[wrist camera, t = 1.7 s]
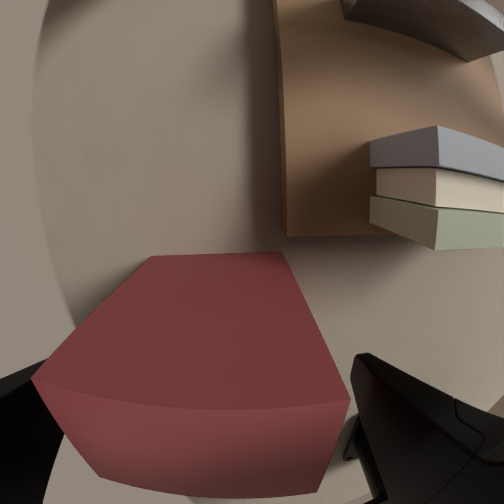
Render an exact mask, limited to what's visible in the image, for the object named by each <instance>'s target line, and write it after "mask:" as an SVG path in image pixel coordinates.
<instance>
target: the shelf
mask: <svg viewBox="0 0 504 504" xmlns="http://www.w3.org/2000/svg"><path fill="white" fill-rule="evenodd" d="M272 5H273V17H274V30H275V44H276V59H277V76H278V96H279V119H280V148H281V193H282V231H283V232H284V234H285V235H286V237H319V236H376V235H399V234H396V233H394V232H391V231H389V230H387V229H384V228H382V227H379V226H377V225H374V224H372V223H369V217H370V196H378V195H376V191H377V169H384V168H376V167H370V142H369V141H371V140H375V139H378V138H382V137H386V136H391V135H395V134H399V133H403V132H408V131H412V130H417V129H421V128H426V127H431V126H436V125H438V126H442V127H445V128H449V129H452V130H455V131H458V132H462V133H465V134H468V135H471V136H473V137H476V138H479V139H482V140H485V141H487V142H490V143H492V144H495V145H497V146H500V147H502V148H504V116H503V110H502V104H501V98H500V93H499V88H498V84H497V80H496V76H495V72H494V68H493V64H492V61H491V57H490V55H488V56H485V57H483V58H480V59H477V60H474V61H472V62H469V63H468V62H466V61H464V60H462V59H460V58H458V57H456V56H454V55H452V54H449V53H447V52H445V51H443V50H441V49H438V48H436V47H434V46H431V45H429V44H426V43H424V42H421V41H419V40H416V39H413V38H410V37H407V36H405V35H402V34H398V33H395V32H392V31H389V30H385V29H382V28H378V27H375V26H371V25H367V24H363V23H358V22H354V21H349V20H344V17H343V12H342V7H341V3H340V0H272ZM379 197H384V196H379Z"/></svg>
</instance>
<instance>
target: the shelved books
mask: <svg viewBox="0 0 504 504" xmlns="http://www.w3.org/2000/svg"><path fill="white" fill-rule="evenodd" d="M369 142H370V167H376V168H384V169H377V191H376V195H378V196H370V217H369V223H372V224H374V225H377V226H379V227H382V228H384V229H387V230H389V231H391V232H394V233H396V234H399V235H401V236H403V237H406V238H408V239H410V240H413V241H415V242H417V243H420V244H422V245H424V246H426V247H428V248H431V249H433V250H454V249H476V248H497V247H504V148H502V147H500V146H497V145H495V144H492V143H490V142H487V141H485V140H482V139H479V138H476V137H473V136H471V135H468V134H465V133H462V132H458V131H455V130H452V129H449V128H445V127H442V126H438V125H436V126H431V127H426V128H421V129H417V130H412V131H408V132H403V133H399V134H395V135H391V136H386V137H382V138H378V139H375V140H371V141H369ZM379 196H384V197H379Z"/></svg>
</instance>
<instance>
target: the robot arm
mask: <svg viewBox="0 0 504 504" xmlns="http://www.w3.org/2000/svg"><path fill="white" fill-rule="evenodd" d="M47 359H48V358H47ZM47 359H45V360H43V361H41V362H38V363H36V364H34V365H31V366H29V367H27V368H24V369H22V370H20V371H18V372H15V373H13V374H11V375H8V376H6V377H4V378H1V379H0V504H43V499H44V495H45V492H46V488H47V485H48V481H49V478H50V475H51V471H52V468H53V465H54V462H55V459H56V456H57V453H58V450H59V447H60V444H61V442H62V439H63V436H64V432H63V431H62V429H61V428H60V426H59V425H58V423H57V422H56V420H55V419H54V417H53V416H52V414H51V413H50V411H49V409H48V408H47V406H46V405H45V403H44V401H43V400H42V398H41V396H40V394H39V393H38V391H37V389H36V387H35V385H34V383H33V381H32V380H31V377H32V376H33V375H34V374H35V372H36V371H37V370H38V369H39V368H40V367H41V366H42V364H43V363H44V362H45V361H46V360H47ZM350 380H351V385H352V388H353V392H354V396H355V400H356V404H357V408H358V412H359V417H358V418H357V421H356V424H355V426H354V429H353V432H352V434H351V437H350V439H349V442H348V444H347V447H346V449H345V452H344V454H343V460H344V461H349V460H354V459H358V458H359V460H360V463H361V466H362V469H363V471H364V474H365V477H366V480H367V483H368V485H369V488H370V491H371V494H372V497H373V499H372V500H370V501H368V502H366V503H364V504H504V418H502V417H499V416H496V415H493V414H490V413H488V412H485V411H482V410H480V409H477V408H475V407H473V406H471V405H468V404H466V403H464V402H462V401H460V400H458V399H456V398H453V397H452V396H450V395H448V394H446V393H444V392H442V391H440V390H438V389H436V388H434V387H432V386H430V385H428V384H426V383H424V382H422V381H420V380H419V379H417V378H415V377H413V376H411V375H409V374H407V373H405V372H403V371H401V370H400V369H398V368H396V367H394V366H392V365H390V364H388V363H387V362H385V361H383V360H381V359H379V358H377V357H375V356H374V355H372V354H370V353H361V354H357V355H356V356H355V357H354V361H353V366H352V370H351V375H350Z"/></svg>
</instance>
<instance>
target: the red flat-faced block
mask: <svg viewBox="0 0 504 504" xmlns="http://www.w3.org/2000/svg"><path fill="white" fill-rule="evenodd" d="M31 380H32V381H33V383H34V385H35V387H36V389H37V391H38V393H39V394H40V396H41V398H42V400H43V401H44V403H45V405H46V406H47V408H48V409H49V411H50V413H51V414H52V416H53V417H54V419H55V420H56V422H57V423H58V425H59V426H60V428H61V429H62V431H63V432H64V434H65V435H66V436H67V438H68V439H69V440H70V442H71V443H72V445H73V446H74V447H75V448H76V450H77V451H78V452H79V453H80V455H81V456H82V457H83V458H84V460H85V461H86V462H87V463H88V464H89V466H90V467H91V468H92V469H93V470H94V471H95V472H96V473H97V475H98V476H99V477H101V478H105V479H108V480H111V481H115V482H119V483H122V484H126V485H130V486H134V487H139V488H143V489H148V490H153V491H159V492H164V493H171V494H178V495H186V496H196V497H208V498H232V499H248V498H271V497H284V496H293V495H301V494H309V493H315V492H317V491H318V488H319V486H320V484H321V482H322V479H323V477H324V475H325V472H326V470H327V467H328V465H329V462H330V460H331V457H332V454H333V452H334V449H335V446H336V443H337V441H338V438H339V435H340V432H341V429H342V426H343V423H344V420H345V416H346V413H347V410H348V407H349V403H350V400H351V399H350V396H349V394H348V392H347V390H346V387H345V385H344V383H343V381H342V378H341V376H340V374H339V372H338V369H337V367H336V365H335V363H334V361H333V358H332V356H331V354H330V352H329V350H328V347H327V345H326V343H325V341H324V339H323V337H322V334H321V332H320V330H319V328H318V326H317V324H316V322H315V320H314V317H313V315H312V313H311V311H310V309H309V307H308V305H307V303H306V301H305V298H304V296H303V294H302V292H301V290H300V288H299V286H298V284H297V282H296V280H295V278H294V276H293V274H292V272H291V270H290V268H289V266H288V263H287V261H286V259H285V257H284V255H283V253H282V252H261V253H229V254H198V255H166V256H152V257H151V258H150V259H149V260H147V261H146V262H145V263H144V264H143V265H142V266H141V267H140V268H139V269H137V270H136V271H135V272H134V273H133V274H132V275H131V276H130V277H129V278H128V279H127V280H125V281H124V282H123V283H122V284H121V285H120V286H119V287H118V288H117V289H116V290H115V291H114V292H113V293H112V294H111V295H110V296H108V297H107V298H106V299H105V300H104V301H103V302H102V303H101V304H100V305H99V306H98V307H97V308H96V309H95V310H94V311H93V312H92V313H91V314H90V315H89V316H88V317H87V318H86V319H85V320H84V321H83V322H82V323H81V324H80V325H79V326H78V327H77V328H76V329H75V330H74V331H73V332H72V333H71V334H70V335H69V336H68V338H67V339H66V340H65V341H64V342H63V343H62V344H61V345H60V346H59V347H58V348H57V349H56V350H55V351H54V352H53V353H52V355H51V356H50V357H49V358H48V359H47V360H46V361H45V362H44V363H43V364H42V366H41V367H40V368H39V369H38V370H37V371H36V372H35V374H34V375H33V376H32V377H31Z"/></svg>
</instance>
